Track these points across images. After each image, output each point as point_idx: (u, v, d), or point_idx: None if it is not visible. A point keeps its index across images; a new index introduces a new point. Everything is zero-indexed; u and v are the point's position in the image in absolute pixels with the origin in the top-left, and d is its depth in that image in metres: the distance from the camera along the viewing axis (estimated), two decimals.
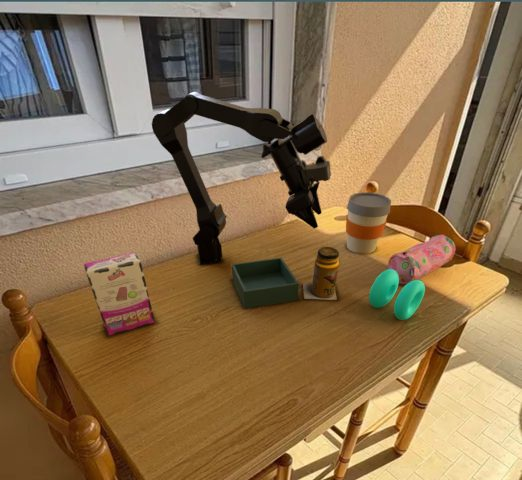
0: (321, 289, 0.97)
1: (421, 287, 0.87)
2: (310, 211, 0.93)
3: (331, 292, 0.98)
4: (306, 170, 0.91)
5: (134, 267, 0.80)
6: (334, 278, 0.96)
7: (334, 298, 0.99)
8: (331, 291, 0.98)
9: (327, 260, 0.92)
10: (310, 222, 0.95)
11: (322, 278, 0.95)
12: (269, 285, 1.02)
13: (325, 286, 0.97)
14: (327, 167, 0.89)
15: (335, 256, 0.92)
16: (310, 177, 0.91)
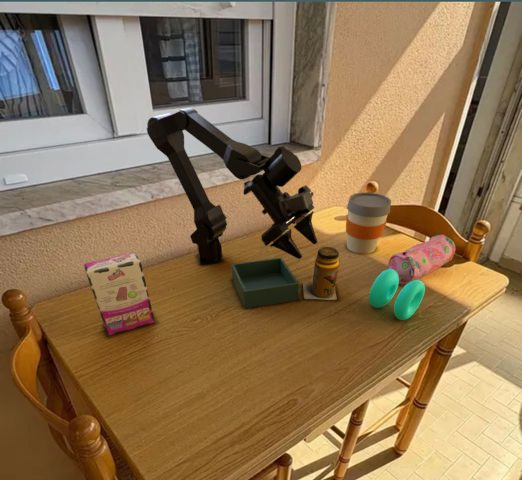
0: (321, 289, 0.97)
1: (421, 287, 0.87)
2: (288, 242, 0.90)
3: (331, 292, 0.98)
4: (283, 201, 0.89)
5: (134, 267, 0.80)
6: (334, 278, 0.96)
7: (334, 298, 0.99)
8: (331, 291, 0.98)
9: (327, 260, 0.92)
10: (292, 253, 0.92)
11: (322, 278, 0.95)
12: (269, 285, 1.02)
13: (325, 286, 0.97)
14: (302, 196, 0.86)
15: (335, 256, 0.92)
16: (287, 208, 0.89)
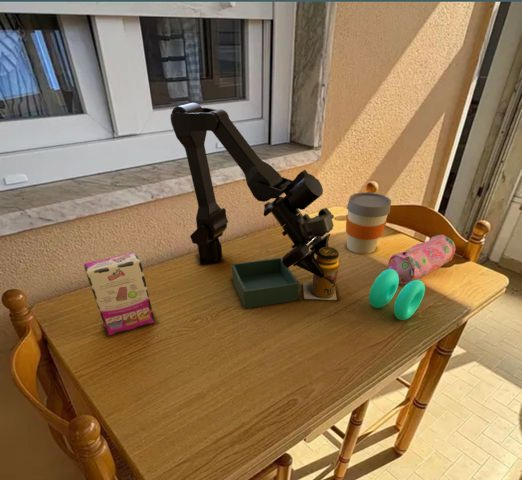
0: (321, 289, 0.97)
1: (421, 287, 0.87)
2: (312, 261, 0.92)
3: (331, 292, 0.98)
4: (304, 224, 0.90)
5: (134, 267, 0.80)
6: (334, 278, 0.96)
7: (334, 298, 0.99)
8: (331, 291, 0.98)
9: (327, 260, 0.92)
10: (315, 272, 0.94)
11: (322, 279, 0.95)
12: (269, 285, 1.02)
13: (325, 286, 0.96)
14: (323, 220, 0.87)
15: (335, 256, 0.92)
16: (308, 231, 0.90)
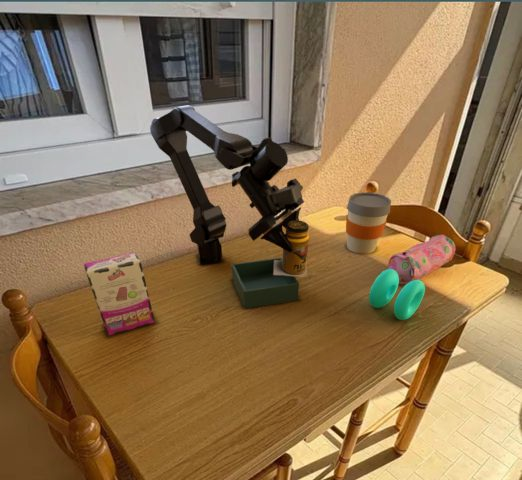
0: (291, 265, 0.93)
1: (421, 287, 0.87)
2: (279, 234, 0.88)
3: (301, 268, 0.95)
4: (272, 195, 0.86)
5: (134, 267, 0.80)
6: (304, 253, 0.92)
7: (305, 275, 0.95)
8: (301, 267, 0.94)
9: (296, 233, 0.88)
10: (283, 246, 0.90)
11: (291, 254, 0.91)
12: (269, 285, 1.02)
13: (295, 262, 0.93)
14: (290, 190, 0.83)
15: (304, 229, 0.88)
16: (275, 202, 0.86)
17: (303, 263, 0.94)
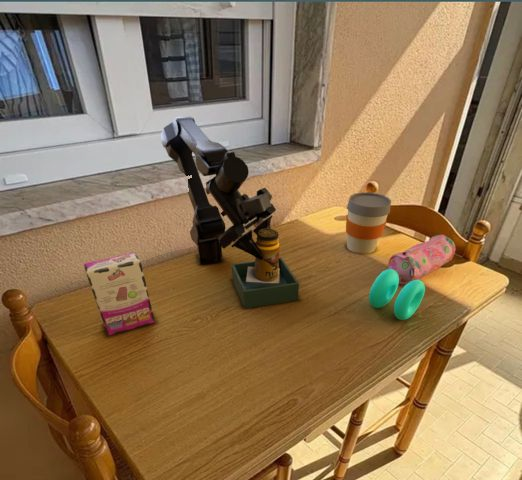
0: (262, 272, 0.95)
1: (421, 287, 0.87)
2: (249, 243, 0.89)
3: (273, 275, 0.96)
4: (241, 204, 0.88)
5: (134, 267, 0.80)
6: (275, 261, 0.94)
7: (276, 281, 0.97)
8: (273, 274, 0.96)
9: (265, 241, 0.90)
10: (254, 253, 0.92)
11: (262, 261, 0.93)
12: (269, 285, 1.02)
13: (266, 269, 0.94)
14: (258, 199, 0.85)
15: (273, 237, 0.90)
16: (244, 211, 0.87)
17: (275, 270, 0.96)
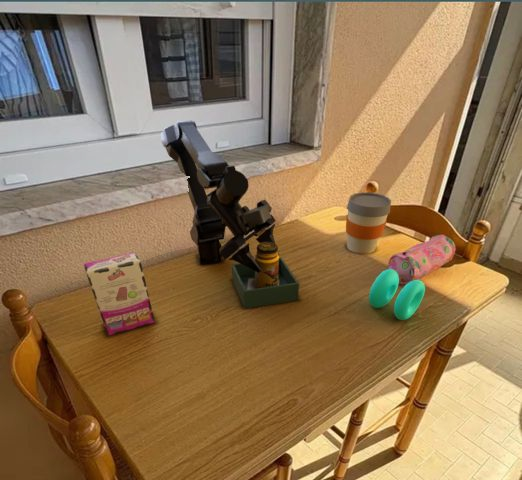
0: (262, 284, 0.97)
1: (421, 287, 0.87)
2: (247, 256, 0.90)
3: None
4: (241, 216, 0.89)
5: (134, 267, 0.80)
6: (274, 273, 0.96)
7: None
8: None
9: (265, 254, 0.92)
10: (252, 266, 0.92)
11: (262, 273, 0.95)
12: None
13: (266, 281, 0.97)
14: (258, 211, 0.86)
15: (273, 251, 0.92)
16: (245, 222, 0.89)
17: (274, 282, 0.98)
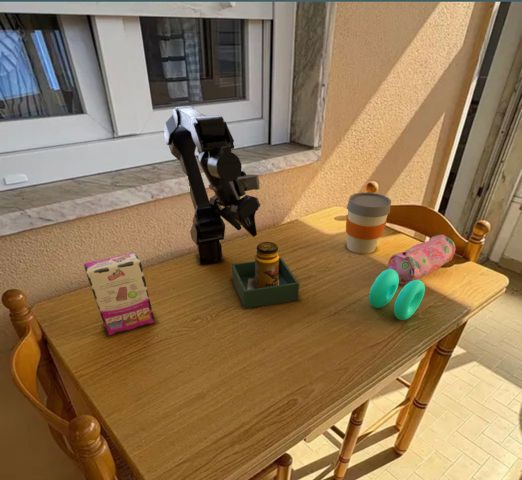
0: (262, 284, 0.97)
1: (421, 287, 0.87)
2: (253, 217, 0.93)
3: None
4: (239, 179, 0.91)
5: (134, 267, 0.80)
6: (275, 273, 0.96)
7: None
8: None
9: (265, 254, 0.92)
10: (251, 230, 0.95)
11: (262, 273, 0.95)
12: None
13: (266, 281, 0.97)
14: None
15: (273, 251, 0.92)
16: (245, 186, 0.92)
17: (274, 282, 0.98)
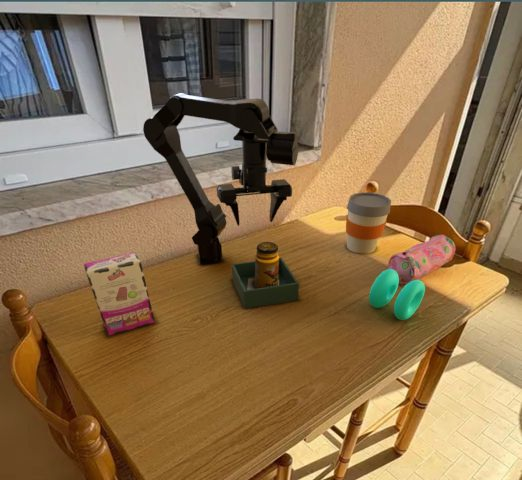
0: (262, 284, 0.97)
1: (421, 287, 0.87)
2: None
3: None
4: None
5: (134, 267, 0.80)
6: (274, 273, 0.96)
7: None
8: None
9: (265, 254, 0.92)
10: None
11: (262, 273, 0.95)
12: None
13: (266, 281, 0.97)
14: None
15: (273, 251, 0.92)
16: None
17: (274, 282, 0.98)
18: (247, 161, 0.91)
